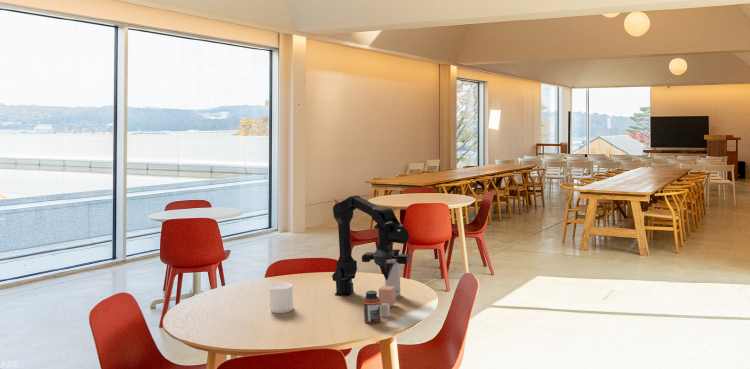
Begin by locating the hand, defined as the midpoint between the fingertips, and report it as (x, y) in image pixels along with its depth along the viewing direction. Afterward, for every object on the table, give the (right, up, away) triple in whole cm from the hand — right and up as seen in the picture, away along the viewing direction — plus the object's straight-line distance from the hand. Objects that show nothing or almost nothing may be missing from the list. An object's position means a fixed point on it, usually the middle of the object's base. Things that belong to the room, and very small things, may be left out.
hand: (386, 279), depth 229 cm
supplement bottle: (-6, -13, -16) cm, 21 cm away
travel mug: (+3, -10, +14) cm, 17 cm away
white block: (-1, -12, -10) cm, 16 cm away
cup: (-42, -13, +2) cm, 44 cm away
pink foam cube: (0, -10, +1) cm, 10 cm away
